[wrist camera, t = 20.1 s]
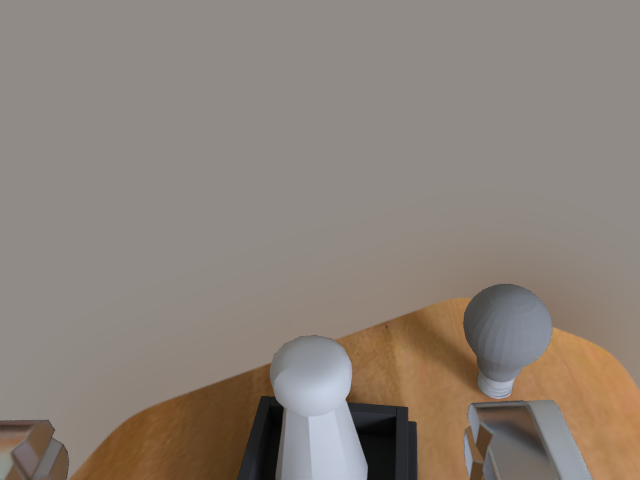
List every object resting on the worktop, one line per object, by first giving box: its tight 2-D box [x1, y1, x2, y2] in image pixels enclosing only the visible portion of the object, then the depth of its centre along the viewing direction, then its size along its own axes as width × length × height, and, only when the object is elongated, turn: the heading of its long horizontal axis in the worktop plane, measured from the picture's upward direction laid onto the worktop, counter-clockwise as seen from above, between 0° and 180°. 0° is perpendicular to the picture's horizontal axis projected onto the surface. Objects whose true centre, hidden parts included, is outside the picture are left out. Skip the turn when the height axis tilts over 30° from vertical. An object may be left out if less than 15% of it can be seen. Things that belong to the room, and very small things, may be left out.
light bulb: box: [463, 284, 552, 399], centre depth 38 cm, size 6×6×10 cm
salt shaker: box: [270, 335, 368, 480], centre depth 30 cm, size 6×6×13 cm
